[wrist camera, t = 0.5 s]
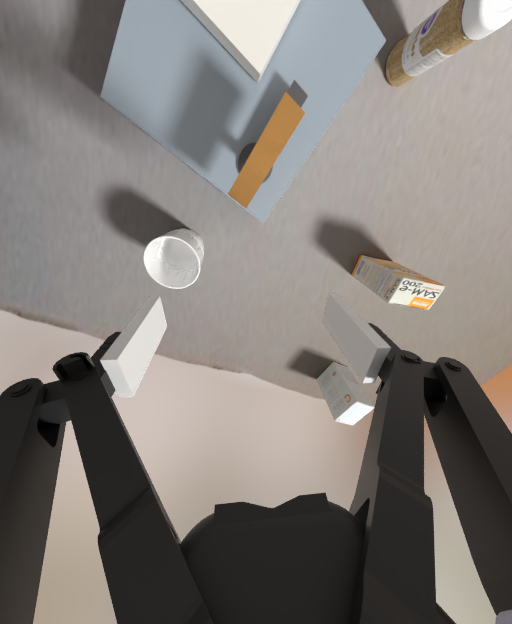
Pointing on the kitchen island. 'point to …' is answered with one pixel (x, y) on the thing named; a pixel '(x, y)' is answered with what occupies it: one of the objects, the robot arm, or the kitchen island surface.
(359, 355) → the robot arm
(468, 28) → the sprinkles bottle
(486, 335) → the kitchen island surface
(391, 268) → the supplement box
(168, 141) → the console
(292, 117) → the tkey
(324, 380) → the small box
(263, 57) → the cover
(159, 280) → the white cup
